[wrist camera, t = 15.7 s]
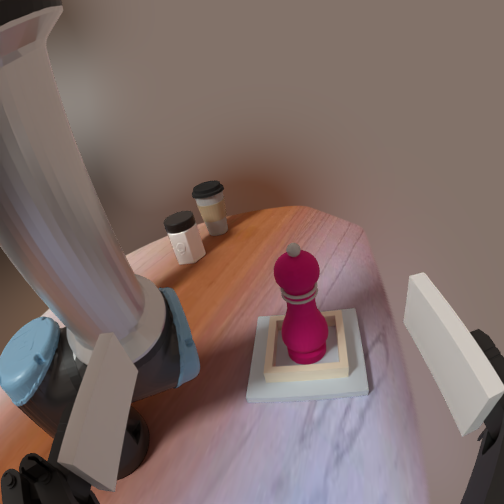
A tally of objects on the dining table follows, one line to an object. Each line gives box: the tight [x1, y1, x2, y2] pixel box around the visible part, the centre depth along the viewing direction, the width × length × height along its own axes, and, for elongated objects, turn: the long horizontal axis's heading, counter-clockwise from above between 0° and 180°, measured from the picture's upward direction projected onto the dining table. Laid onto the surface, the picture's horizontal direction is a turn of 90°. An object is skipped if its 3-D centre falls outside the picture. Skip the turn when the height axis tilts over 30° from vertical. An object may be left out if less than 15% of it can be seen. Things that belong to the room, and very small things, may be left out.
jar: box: [164, 211, 206, 265], centre depth 84 cm, size 9×8×12 cm
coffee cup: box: [192, 181, 228, 236], centre depth 93 cm, size 9×9×15 cm
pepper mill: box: [274, 243, 329, 365], centre depth 45 cm, size 7×7×20 cm
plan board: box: [246, 308, 369, 403], centre depth 49 cm, size 18×18×4 cm
